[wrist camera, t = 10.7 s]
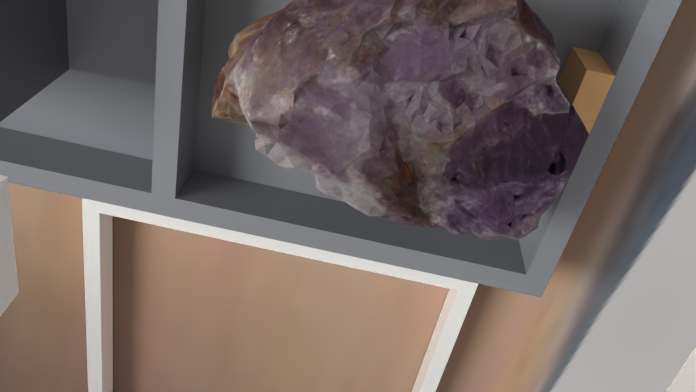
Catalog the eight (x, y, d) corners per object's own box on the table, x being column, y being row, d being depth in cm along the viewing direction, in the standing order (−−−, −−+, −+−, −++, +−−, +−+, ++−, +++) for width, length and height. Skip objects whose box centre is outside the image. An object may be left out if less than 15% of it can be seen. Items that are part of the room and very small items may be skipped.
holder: (-166, 99, 30) (-335, 186, 23) (-289, -382, 21) (-625, -468, 14) (529, 251, 30) (560, 377, 24) (705, -149, 21) (834, -127, 15)
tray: (100, 406, 39) (89, 427, 38) (95, 178, 30) (81, 194, 29) (396, 468, 40) (396, 491, 38) (476, 261, 31) (479, 281, 30)
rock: (465, 178, 29) (586, -36, 24) (514, 318, 22) (699, 62, 17) (209, 104, 26) (279, -157, 21) (173, 239, 19) (262, -100, 14)
